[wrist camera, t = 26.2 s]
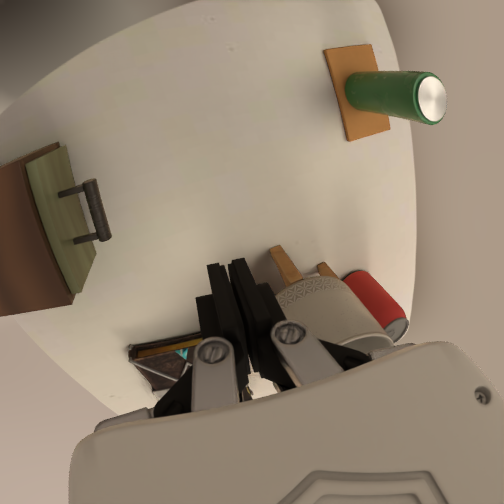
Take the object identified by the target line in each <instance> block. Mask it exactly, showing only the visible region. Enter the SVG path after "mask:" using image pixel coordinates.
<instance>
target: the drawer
mask: <svg viewBox="0 0 504 504" xmlns="http://www.w3.org/2000/svg"><path fill="white" fill-rule="evenodd" d="M25 166H26V167H25V170H26V174H27V178H28V182H29V186H30V189H31V193H32V196H33V199H34V203H35V206H36V209H37V212H38V215H39V218H40V221H41V224H42V227H43V229H44V232H45V235H46V238H47V240H48V243H49V245H50V248H51V250H52V253H53V255H54V258H55V260H56V263H57V265H58V267H59V270H60V272H61V274H62V276H63V278H65V281H66V283H67V285H68V287H69V289H70V291H71V293H72V294H75V293H81V292H82V289H83V287H84V284H85V281H86V279H87V276H88V273H89V271H90V268H91V266H92V263H93V261H94V258H95V256H96V251H95V248H94V245H93V242H92V241H93V240H97V239H99V241H100V242H104V241H107V240H109V239H110V238H111V237H112V235H111V231H110V228H109V225H108V221H107V218H106V214H105V211H104V207H103V204H102V200H101V196H100V192H99V188H98V184H97V180H96V178H93V179H89V180H86V181H84V182H83V183H82V185H78V186H75V182H74V178H73V174H72V170H71V166H70V162H69V157H68V153H67V148H66V145H64V146H61V147H59V148H56V149H54V150H52V151H50V152H48V153H46V154H44V155H42V156H40V157H38V158H36V159H34V160H32V161H30V162H28V163H26V164H25ZM83 191H84V192H85V196H86V199H87V203H88V207H89V210H90V213H91V217H92V220H93V223H94V226H95V230H96V232H95V233H89V230H88V227H87V224H86V221H85V218H84V214H83V211H82V208H81V204H80V201H79V197H78V194H77V193H80V192H83Z"/></svg>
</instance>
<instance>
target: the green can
mask: <svg viewBox="0 0 504 504" xmlns="http://www.w3.org/2000/svg"><path fill="white" fill-rule="evenodd" d="M345 95H346V98H347V100H348V102H349V103H350V105H351V106H352V107H354V108H355V109H357V110H359V111H365V112H371V113H377V114H382V115H388V116H393V117H398V118H403V119H407V120H412V121H416V122H421V123H425V124H429V125H434V124H437V123H438V122H440V121H441V119H442V118H443V117H444V115H445V112H446V108H447V95H446V91H445V88H444V86H443V84H442V82H441V81H440V79H439V78H438V77H437V76H436V75H434V74H433V73H430V72H417V71H416V72H415V71H364V72H355V73H353V74H351V75H350V76H349V77H348V79H347V81H346V84H345Z"/></svg>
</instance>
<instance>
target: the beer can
mask: <svg viewBox="0 0 504 504" xmlns="http://www.w3.org/2000/svg"><path fill="white" fill-rule="evenodd" d="M343 282H344V283H346V284H347V286H348V287H349V288H350V289H351V290H352V291H353V293H354V294H355V295H356V296H357V297H358V299H359V300H360V301H361V302H362V303H363V305H364V306H365V307H366V308H367V309H368V311H369V312H370V313H371V314H372V315H373V317H374V318H375V319H376V320H377V322H378V323H379V324H380V325H381V327H382V328H383V329H384V330H385V332H386V333H387V334H388V335H389V337H390V338H391V339H392V340H393V343H396V342H397V341H398V340H399V339H400V338H401V337H402V336H403V335H404V334H405V332H406V331H407V329H408V325H409V321H408V320H407V319H406V315H405V312H404V311H403V309H402V308H401V307H400V306H399V304H398V303H397V302H396V301H395V300H394V299H393V298H392V297H391V296H390V295H389V294H388V293H387V292H386V291H385V290H384V288H383V287H382V286H381V285H380V284H379V283H378V282H377V281H376V280H375V279H374V278H373V277H372V276H371V275H370V274H369V273H368V272H365V271H357V272H354V273H352V274H350V275H349V276H347V277H346V278H345V279H344V280H343Z"/></svg>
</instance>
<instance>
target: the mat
mask: <svg viewBox="0 0 504 504" xmlns="http://www.w3.org/2000/svg"><path fill="white" fill-rule="evenodd" d="M323 51H324V54H325V57H326V60H327V64H328V67H329V70H330V74H331V77H332V81H333V84H334V88H335V91H336V95H337V99H338V103H339V107H340V111H341V115H342V119H343V123H344V128H345V132H346V137H347V141H349V142H350V141H354V140H357V139H360V138H363V137H366V136H370V135H373V134H376V133H380V132H383V131H387V130H390V123H389V118H388V115H382V114H377V113H371V112H365V111H359V110H357V109H355V108H354V107H352V106H351V105H350V103H349V102H348V100H347V98H346V95H345V84H346V81H347V79H348V77H349V76H350V75H351V74H353V73H355V72H364V71H378V67H377V63H376V59H375V56H374V52H373V49H372V45H371V44H369V45H358V46H349V47H341V48H333V49H327V50H323Z"/></svg>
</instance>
